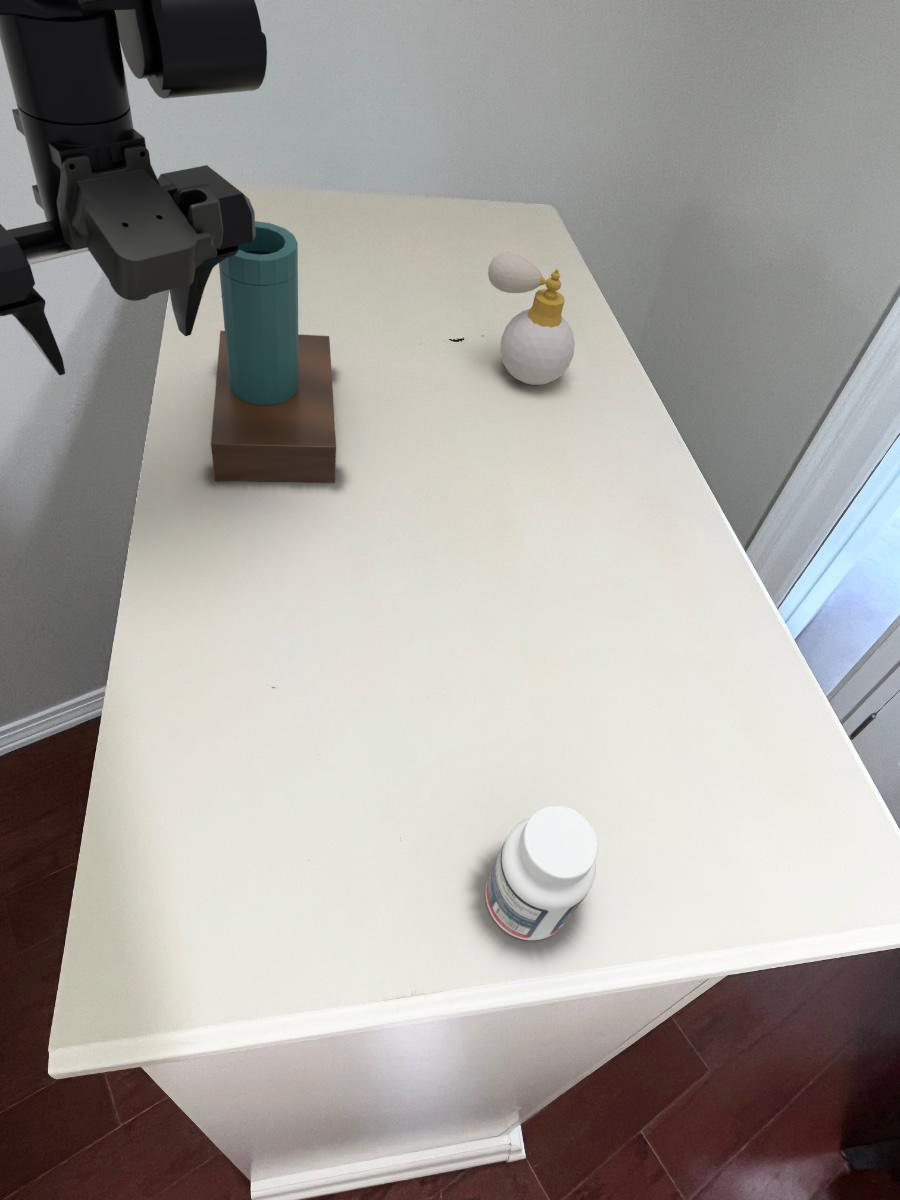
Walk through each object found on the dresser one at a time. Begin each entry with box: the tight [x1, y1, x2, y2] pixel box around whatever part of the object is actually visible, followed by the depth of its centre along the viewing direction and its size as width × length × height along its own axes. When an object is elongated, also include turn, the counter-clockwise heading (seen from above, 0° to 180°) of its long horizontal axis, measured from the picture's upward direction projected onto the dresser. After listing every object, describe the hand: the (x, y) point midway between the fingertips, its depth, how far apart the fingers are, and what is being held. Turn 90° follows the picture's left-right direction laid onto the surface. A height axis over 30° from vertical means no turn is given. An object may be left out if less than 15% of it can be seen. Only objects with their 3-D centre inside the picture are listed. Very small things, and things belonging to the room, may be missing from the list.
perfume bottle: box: [487, 252, 576, 386], centre depth 78 cm, size 8×10×12 cm
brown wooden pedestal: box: [210, 330, 337, 484], centre depth 71 cm, size 16×10×4 cm, turn 7°
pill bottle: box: [485, 804, 599, 941], centre depth 45 cm, size 5×5×9 cm
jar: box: [218, 220, 299, 405], centre depth 64 cm, size 6×6×13 cm
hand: (124, 351), depth 55 cm, fingers open, 9 cm apart
